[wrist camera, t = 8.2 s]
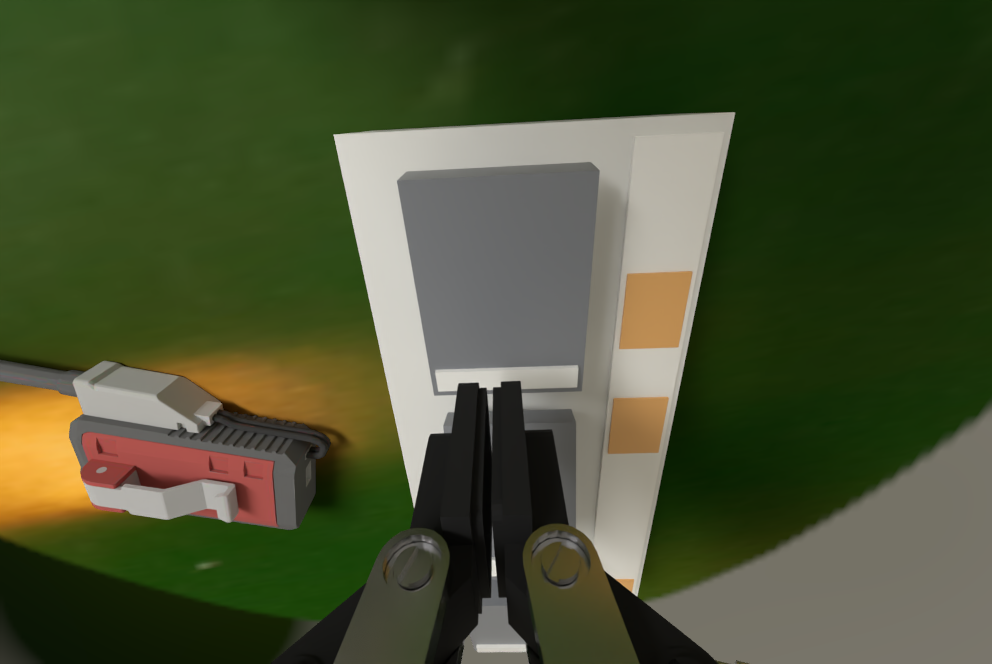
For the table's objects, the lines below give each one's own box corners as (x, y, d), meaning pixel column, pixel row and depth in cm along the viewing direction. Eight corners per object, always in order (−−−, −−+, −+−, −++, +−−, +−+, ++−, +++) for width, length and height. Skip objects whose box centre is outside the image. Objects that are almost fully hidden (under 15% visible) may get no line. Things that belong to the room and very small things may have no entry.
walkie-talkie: (339, 395, 22) (-50, 326, 21) (304, 454, 19) (-178, 375, 17) (336, 499, 27) (10, 449, 25) (307, 565, 23) (-80, 510, 21)
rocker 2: (447, 412, 16) (442, 427, 15) (571, 409, 16) (576, 424, 15) (458, 557, 18) (454, 583, 17) (571, 556, 18) (576, 581, 16)
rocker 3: (463, 576, 19) (461, 609, 18) (569, 575, 19) (572, 608, 18) (475, 624, 23) (474, 653, 22) (561, 624, 23) (564, 653, 22)
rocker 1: (406, 171, 11) (395, 182, 10) (590, 162, 11) (600, 171, 10) (438, 373, 15) (433, 398, 14) (576, 369, 14) (582, 394, 13)
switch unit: (372, 131, 16) (314, 136, 11) (682, 113, 15) (762, 111, 11) (446, 555, 28) (434, 643, 24) (617, 553, 28) (640, 642, 23)
